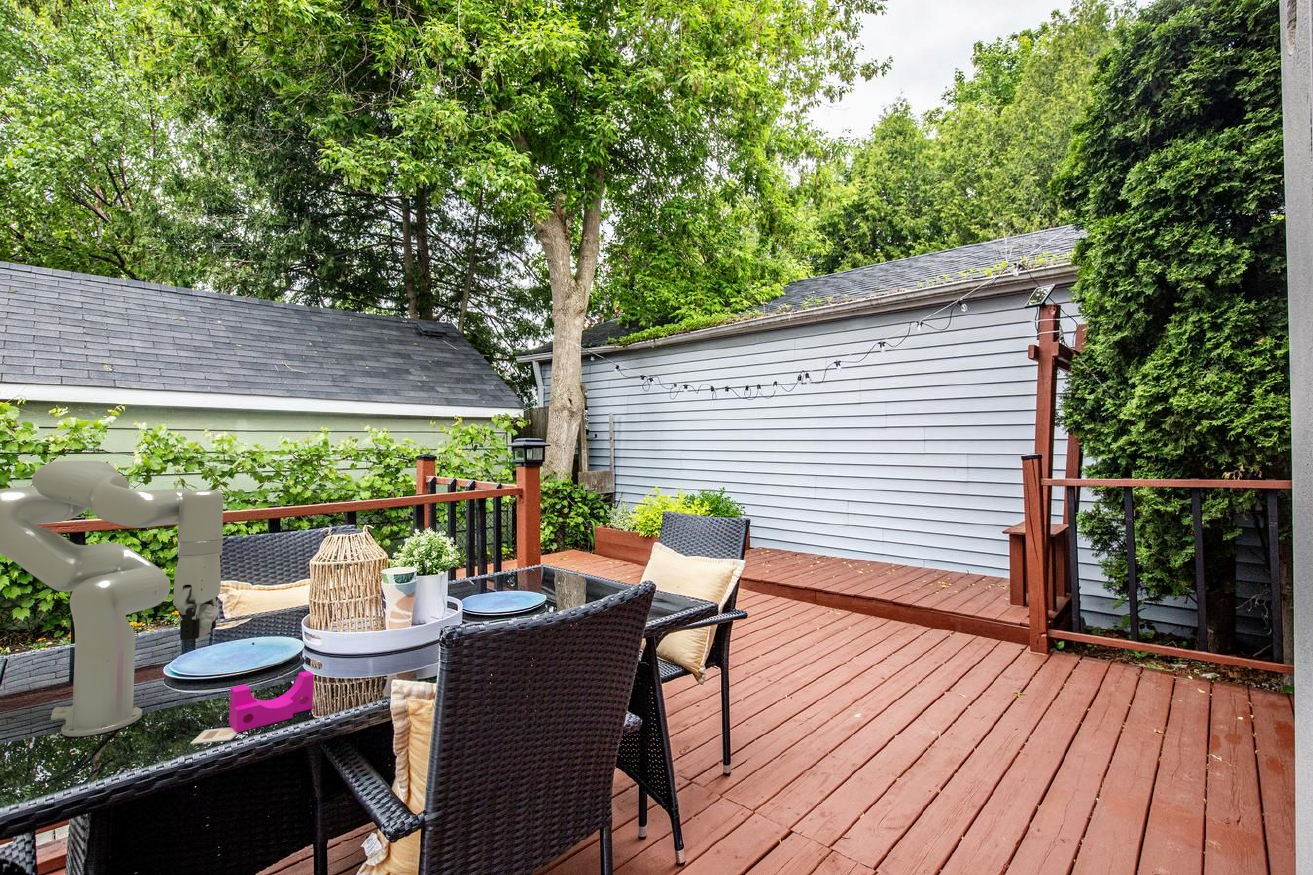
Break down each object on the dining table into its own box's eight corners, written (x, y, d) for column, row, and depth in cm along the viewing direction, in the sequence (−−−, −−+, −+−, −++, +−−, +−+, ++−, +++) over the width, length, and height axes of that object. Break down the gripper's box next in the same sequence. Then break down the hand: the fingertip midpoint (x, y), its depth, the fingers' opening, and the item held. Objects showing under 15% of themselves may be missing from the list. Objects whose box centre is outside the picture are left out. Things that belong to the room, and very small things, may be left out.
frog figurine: (223, 636, 127) (224, 603, 127) (183, 644, 121) (184, 610, 122) (212, 631, 130) (213, 599, 131) (172, 639, 125) (173, 606, 125)
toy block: (236, 732, 122) (237, 695, 123) (228, 723, 127) (230, 687, 127) (316, 711, 133) (317, 677, 134) (307, 703, 138) (308, 670, 138)
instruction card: (190, 744, 118) (190, 742, 118) (204, 730, 124) (204, 729, 124) (230, 739, 120) (230, 738, 120) (243, 727, 126) (243, 725, 126)
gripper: (200, 543, 134) (198, 624, 133) (156, 555, 117) (154, 647, 117) (238, 542, 136) (236, 622, 135) (200, 553, 119) (198, 644, 118)
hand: (198, 633), depth 126 cm, fingers closed on frog figurine, 6 cm apart
